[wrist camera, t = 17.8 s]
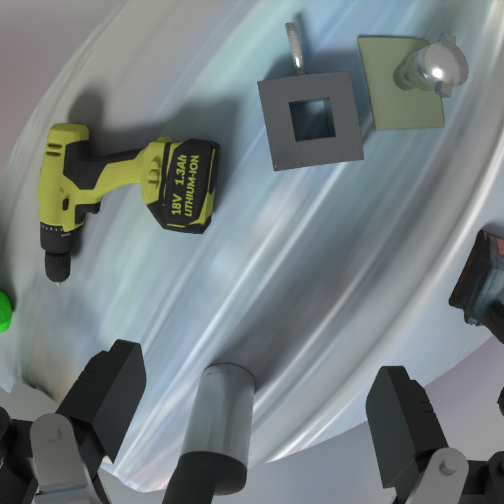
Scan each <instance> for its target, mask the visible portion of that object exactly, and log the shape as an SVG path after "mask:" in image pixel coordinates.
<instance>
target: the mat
mask: <svg viewBox="0 0 504 504" xmlns="http://www.w3.org/2000/svg"><path fill="white" fill-rule="evenodd" d="M357 42H358V46H359V50H360V54H361V59H362V63H363V68H364V72H365V77H366V82H367V87H368V93H369V98H370V104H371V110H372V116H373V122H374V129H375V130H388V129H406V128H436V127H444V120H443V113H442V106H441V100H440V95H437V94H435V93H434V92H435V91H430V92H427V91H423V90H421V89H419V88H414V89H411V90H407V91H405V90H402V89H400V88H398V87H397V86H396V84H395V83H394V80H393V73H394V71H395V70H396V69H398V68H400V67H402V66H404V65H406V61H407V59H408V57H409V56H410V55H411V54H413V53H415V52H417V51H418V50H420V49H422V48H424V47H426V46H428V45H429V42H428V40H419V39H405V38H373V37H365V38H357Z"/></svg>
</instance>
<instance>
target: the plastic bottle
mask: <svg viewBox="0 0 504 504" xmlns="http://www.w3.org/2000/svg"><path fill="white" fill-rule="evenodd" d="M11 307H12V306H11V303H10V300H9V299H8V297H7V296H6V294H5V293H3V292H2V291H0V332H4V331H6V330H7V329H8V328H9V326H10V323H11V317H12V309H11Z"/></svg>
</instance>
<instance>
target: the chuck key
mask: <svg viewBox="0 0 504 504" xmlns="http://www.w3.org/2000/svg"><path fill="white" fill-rule="evenodd" d="M455 42H456V37H455V36H453V35H451V34H449V33H447V32H444V33H442V34H440V41H437V42H435V43H433V44H431V45H428V46H426V47H424V48H422V49H420V50H418V51H417V52H415V53H413V54H411V55H410V56H409V57H408V59H407V61H406V65H404V66H402V67H400V68H398V69H396V70H395V71H394V73H393V80H394V83H395V84H396V86H397V87H398V88H400V89H402V90H405V91H407V90H411V89H414V88H419V89H421V90H423V91H427V92H430V91H435V92H434V93H435V94H437V95H440V96H442V97H444V98H446V97H451V91H452V87H454V86H459V85H462V84H463V83H464V82H465V81H466V80H467V78H468V73H469V69H468V64H467V61H466V58H465V56H464V55H463V53H462V52H461V50H460V49H459V48H458V47H457V46H455Z"/></svg>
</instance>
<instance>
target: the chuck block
mask: <svg viewBox="0 0 504 504" xmlns="http://www.w3.org/2000/svg"><path fill="white" fill-rule="evenodd" d="M285 27H286V32H287V36H288V40H289V44H290V49H291V53H292V57H293V62H294V67H295V71H296V76H291V77H283V78H277V79H270V80H264V81H258V82H257V84H258V89H259V94H260V99H261V104H262V109H263V114H264V119H265V125H266V130H267V135H268V141H269V146H270V151H271V157H272V162H273V168H274V172H275V171H281V170H288V169H294V168H301V167H308V166H315V165H323V164H330V163H339V162H347V161H356V160H364V153H363V146H362V138H361V132H360V125H359V119H358V113H357V107H356V101H355V96H354V91H353V85H352V80H351V76H350V71H341V72H328V73H317V74H307V72H306V67H305V62H304V58H303V53H302V49H301V45H300V41H299V36H298V32H297V28H296V24H295V23H294V22H289V23H286V24H285ZM317 101H324V106H325V112H326V118H327V123H328V129H329V135H330V136H328V137H320V138H312V139H304V140H297V141H295V135H294V129H293V124H292V118H291V113H290V108H289V105H293V104H300V103H308V102H317Z"/></svg>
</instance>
